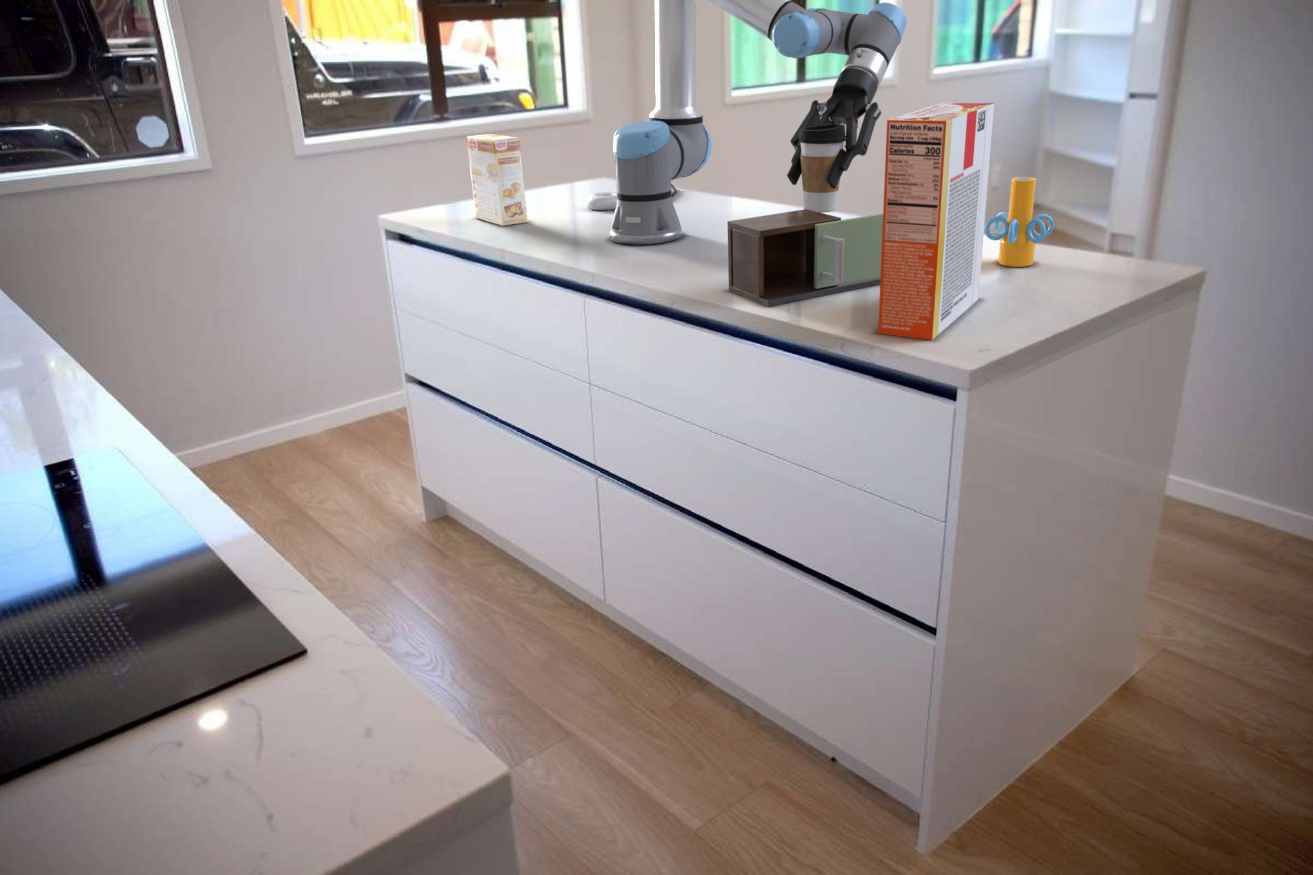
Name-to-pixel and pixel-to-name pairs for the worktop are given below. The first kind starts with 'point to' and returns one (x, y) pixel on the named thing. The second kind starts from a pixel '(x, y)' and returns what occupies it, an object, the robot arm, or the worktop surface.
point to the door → (848, 250)
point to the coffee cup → (820, 165)
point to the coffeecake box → (497, 178)
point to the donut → (602, 201)
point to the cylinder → (1019, 225)
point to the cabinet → (779, 258)
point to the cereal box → (933, 216)
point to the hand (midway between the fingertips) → (810, 182)
